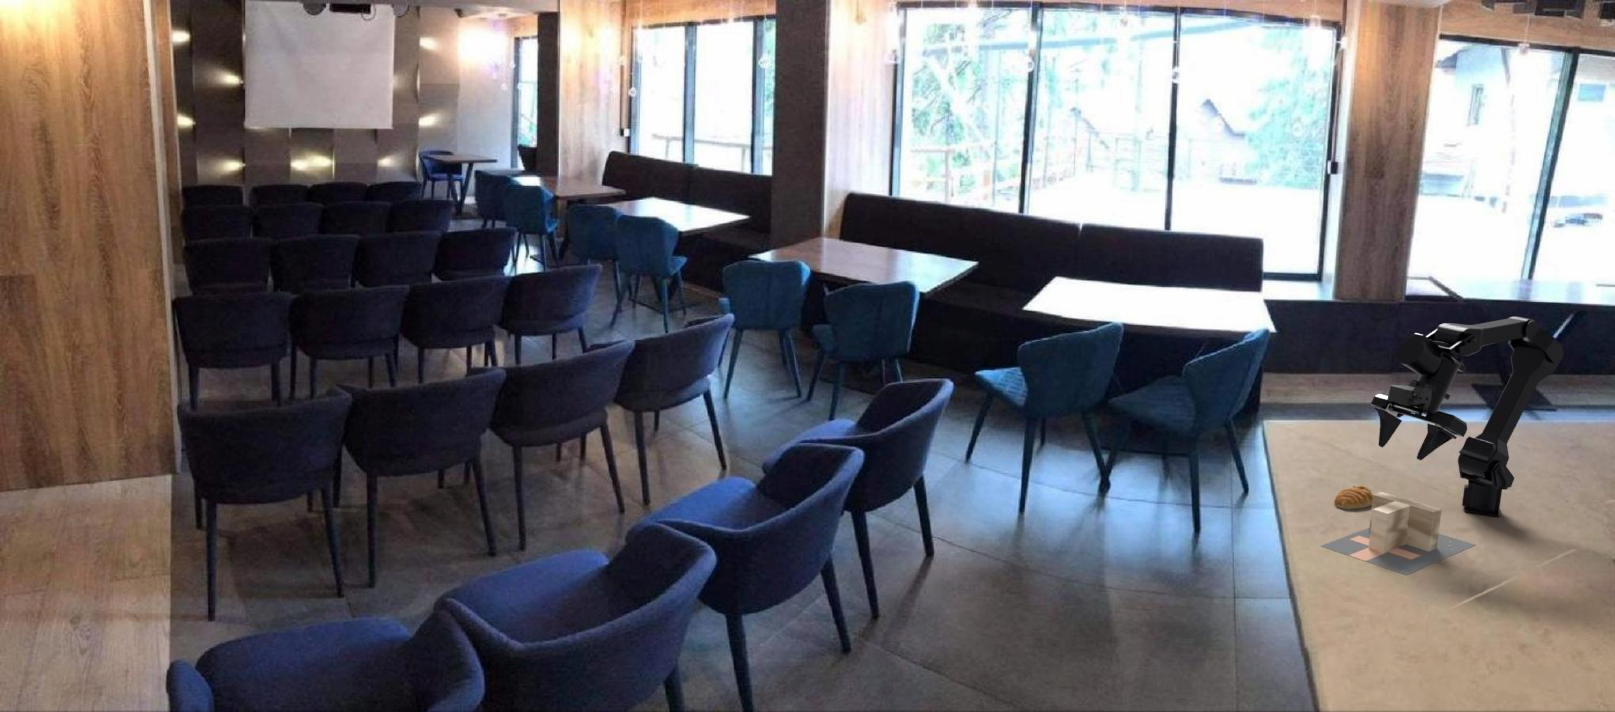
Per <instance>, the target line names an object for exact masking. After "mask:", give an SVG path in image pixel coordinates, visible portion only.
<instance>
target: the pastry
mask: <svg viewBox="0 0 1615 712" xmlns="http://www.w3.org/2000/svg"><path fill="white" fill-rule="evenodd" d="M1373 495H1374V494H1373V492H1372V491H1371V489H1369V488H1368V487H1366V486H1363V485H1358V486H1356V485H1353V486H1352V487H1348V488H1344V489H1342V490H1341V491H1340V492H1338V493H1337V495H1336V496H1335V499H1334V501H1333V503H1334V504H1333V505H1334V506H1335V507H1336V508H1340V509H1343V510H1350V511H1351V510H1352V511H1353V510H1358V509H1365V508H1368V507H1372V502H1373Z"/></svg>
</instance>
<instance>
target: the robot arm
mask: <svg viewBox="0 0 1615 712" xmlns="http://www.w3.org/2000/svg"><path fill="white" fill-rule="evenodd" d="M1505 342H1507V344H1508V345H1509V347H1510V349H1512V355H1511V357H1510V360H1511V361H1510V362H1511V367H1512V373H1511V376H1510V377H1509V379H1508V382H1507V384H1506V385H1505V387H1504V389H1503V391H1502V393H1501V394H1500V397H1499V399H1498V401H1497V403H1496V405H1495V406H1494V409H1493V411H1492V413H1491V414H1490V417H1489V418H1488V421H1487V422H1486V424H1485V426H1484V427H1483V430H1482V432H1481V433H1480V434H1478V435H1476V436H1475V437H1473V436H1471V435H1469V436H1468V437H1467V438H1466V439H1465V441H1464V444H1463V446H1462V448H1461V449H1460V450H1459V451H1458V454H1459V455H1458V457H1457V465H1458V471H1459V478H1461V479H1465V480H1468V483H1467V484H1464V487H1463V496H1462V501H1461V506H1462V507H1463V512H1465V511H1467V512H1466V513H1471V512H1472V514H1477V513H1478V515H1485V516H1490V515H1491V517H1500V515H1501V514H1500V513H1501V512H1500V510H1501V508H1500V507H1501V500H1502V494H1503V493H1502V492H1503V490H1504V491H1505V490H1506V491H1507V490H1508V488H1512V485H1513V483H1514V481H1515V476H1514V475H1513V474H1512V472H1511V471H1510V469H1509V468H1508V466H1507V465H1508V463H1509V459H1510V455H1509V449H1508V448H1509V447H1508V443H1509V441H1510V438H1511V437H1512V434H1513V433H1514V431H1515V429H1516V427H1517V424H1518V422H1519V421H1520V418H1521V417H1522V415H1523V413H1524V411H1525V409H1526V407H1527V405H1528V403H1529V401H1530V399H1531V397H1532V395H1533V393H1534V391H1535V389H1536V388H1537V386H1538V384H1539V383H1540V382H1541V381H1543V379H1546V378H1547V377H1549V376H1550V375H1552V374H1553V373H1554V372H1555V370H1556V369H1557V368H1558V366H1559V364H1560V363H1561V362H1562V359H1563V358H1564V349H1563V347H1562V345H1561V343H1560V342H1559V341H1558V340H1557V339H1556V338H1555V337H1554V335H1551V334H1550V333H1549V332H1547V331H1545V329H1543V328H1542V327H1541V326H1540V325H1539V323H1538V322H1537V321H1535V320H1534V319H1532V318H1528V317H1527V318H1526V317H1521V316H1510V317H1508V318H1504V319H1503V318H1502V319H1498V320H1493V321H1489V322H1488V321H1487V322H1483V323H1482V322H1481V323H1478V324H1477V323H1476V324H1462V323H1461V324H1460V323H1449V322H1444V323H1441V324H1439V325H1438V326H1437V328H1436V329H1435V330H1433V331H1432V332H1429V334H1427V335H1425V334H1421V333H1417V332H1415V333H1414V334H1413V336H1412V337H1411V338H1408V339H1406V340H1404V341H1403V342H1401V344H1400V345H1398V347H1397V348H1396V352H1395V356H1396V358H1395V359H1396V360H1397V361H1398V362H1399V363H1400V364H1401V365H1403V366H1405V367H1406V368H1408V369H1410V370H1411V371H1412V372H1415V373H1416V374H1418V375H1419V377H1418V379H1417V380H1416V379H1412V380H1411V381H1409V382H1410V383H1409V385H1403V384H1401V385H1400V384H1399V385H1398V384H1389V390H1388V394H1387V395H1385V394H1382V393H1378V394H1376V395H1374V396H1373V398H1372V399H1371V402H1370V403H1369V405H1371V406H1372V407H1373V410H1374V411H1375V412H1377V416H1378V418H1379V434H1378V435H1379V437H1378V446H1379V447H1380V448H1382V449H1383V448H1384V447H1385V446H1386V445H1387V444H1388V442H1390V440H1391V438H1392V436H1393V435H1394V434H1395V432H1396V431H1397V429H1398V428H1399V426H1400V425H1401V424H1402V421H1403V420H1402V419H1400V418H1401V417H1404V416H1407V417H1410V418H1414V419H1417V420H1420V421H1422V422H1423V421H1424V422H1427V424H1426V425H1427V426H1426V427H1427V430H1426V431H1427V433H1426V436H1425V438H1424V439H1423V442H1422V444H1421V446H1420V448H1419V450H1418V452H1417V455H1416V459H1417V460H1418V461H1422V460H1424V459H1426V457H1428V456H1430V454H1432V453H1433V452H1435V451H1436V450H1437V449H1438V448H1440V447H1442V445H1444V444H1446V443H1448V442H1449V441H1451V440H1456V439H1458V437H1461V438H1465V436H1466V433H1467V431H1468V424H1467V422H1466V421H1464V420H1462V419H1461V418H1459V417H1458V416H1455V415H1454V414H1451V413H1447V412H1444V411H1442V410H1441V411H1440V410H1439V409H1440V407H1441V405H1442V403H1443V401H1444V400H1447V401H1449V399H1450V397H1451V395H1450V394H1449V393H1448V391H1449V388H1450V387H1451V384H1452V383H1453V381H1454V379H1455V376H1456V375H1457V373H1458V372H1460V373H1461V372H1462V373H1465V372H1466V371H1467V369H1466V366H1465V364H1464V359H1463V358H1460V357H1458V356H1461V357H1469V356H1471V355H1474V354H1476V353H1478V352H1480V351H1481V349H1482V347H1484V346H1489V345H1493V344H1499V343H1505ZM1457 436H1458V437H1457Z"/></svg>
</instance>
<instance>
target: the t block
mask: <svg viewBox="0 0 1615 712" xmlns="http://www.w3.org/2000/svg"><path fill="white" fill-rule="evenodd" d="M1442 511H1443V510H1442V508H1439V507H1436V506H1433V505H1429V504H1426V503H1422V502H1418V501H1414V500H1411V499H1408V498H1403V497H1400V496H1397V495H1393V494H1392V493H1391V494H1390V493H1387V492H1382V491H1379V492H1378V493H1374V494H1373V502H1372V505H1371V513H1370V520H1369V527H1370V528H1369V527H1368V528H1369V533H1370V539H1369V547H1368V548H1369V549H1372V550H1375V551H1378V552H1381V553H1385V552H1388V551H1390V550H1393V549H1395V548H1398V547H1400V546H1403V545H1405V544H1406V545H1410V546H1413V547H1416V548H1419V549H1422V550H1425V551H1431V550H1434V549H1436V548H1437V543H1438V535H1439V534H1440V527H1441V526H1440V525H1441V517H1442Z"/></svg>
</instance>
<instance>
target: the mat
mask: <svg viewBox="0 0 1615 712" xmlns="http://www.w3.org/2000/svg"><path fill="white" fill-rule="evenodd" d="M1369 528H1370V526H1369V527H1367V528H1365V529H1362V530H1359V531H1357V532H1356V531H1355V532H1353V533H1352V534H1349V535H1346V536H1344V537H1343V536H1342V537H1341V538H1337V539H1335V540H1333V541H1330V542H1327V543H1324V544H1322V545H1320V547H1321V548H1325V549H1328V550H1331V551H1333V552H1337V553H1340V554H1342V555H1345V556H1348V557H1351V558H1354V559H1356V560H1361V561H1363V562H1366V563H1368V564H1371V565H1375V566H1378V567H1379V568H1383V569H1386V570H1390V571H1393V572H1395V573H1398V574H1401V575H1405V576H1408V575H1409V574H1412V573H1415V572H1417V571H1419V570H1421V569H1424V568H1426V567H1428V566H1431V565H1433V564H1436V563H1437V562H1440V561H1442V560H1445V559H1447V558H1449V557H1452V556H1455V555H1456V554H1459V553H1462V552H1464V551H1466V550H1468V549H1471V548H1473V547H1475V546H1476V544H1474V543H1471V542H1468V541H1465V540H1461V539H1458V538H1455V537H1452V536H1449V535H1448V536H1447V535H1444V534H1441V533H1439V535H1438V543H1437V548H1436V549H1434V550H1431V551H1425V550H1422V549H1419V548H1416V547H1413V546H1410V545H1406V544H1405V545H1403V546H1400V547H1398V548H1395V549H1393V550H1390V551H1388V552H1385V553H1381V552H1378V551H1375V550H1372V549H1369V548H1368V547H1369V539H1370V533H1369ZM1449 541H1451V542H1449ZM1448 545H1449V546H1448ZM1450 545H1451V546H1450ZM1452 549H1453V550H1452Z"/></svg>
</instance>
